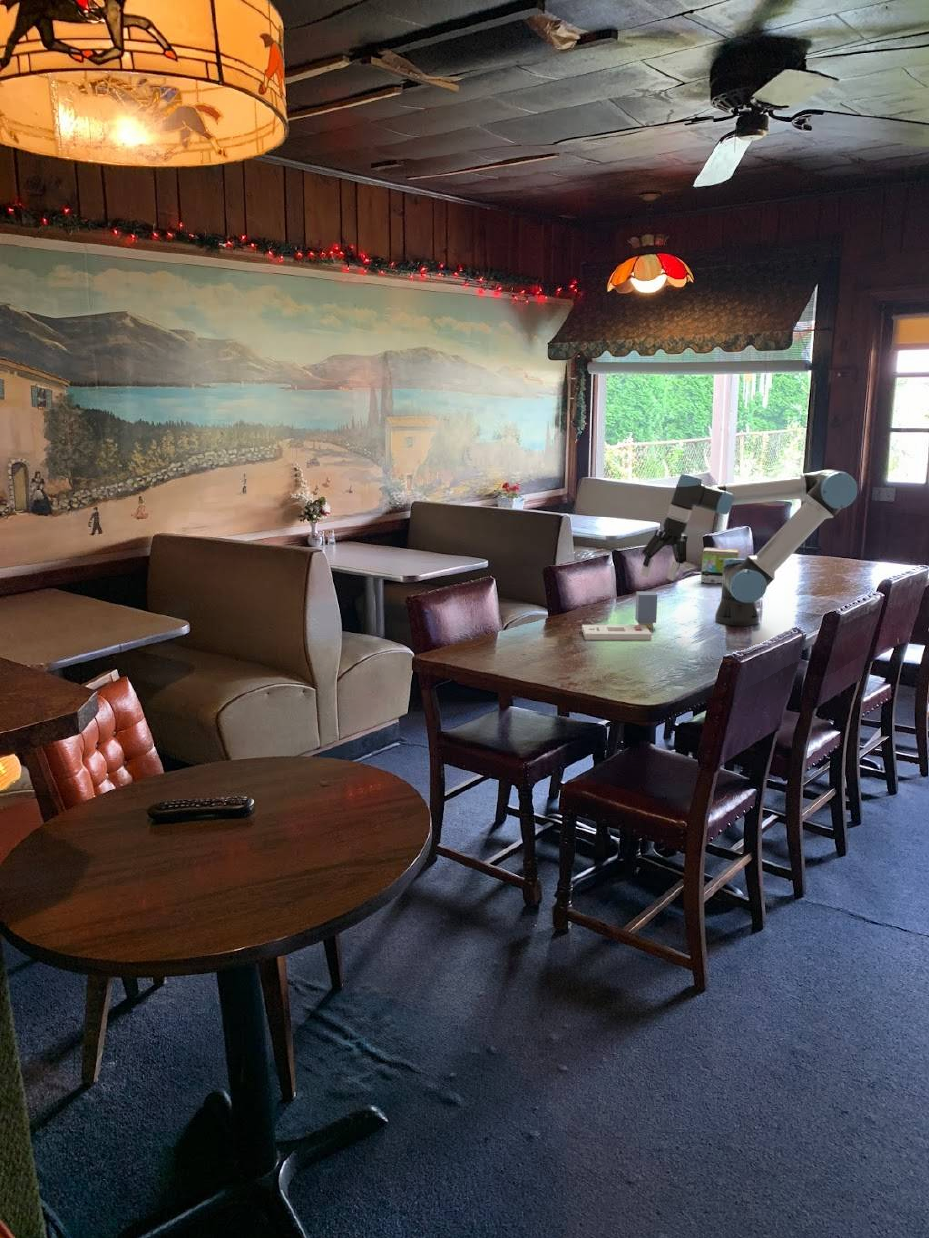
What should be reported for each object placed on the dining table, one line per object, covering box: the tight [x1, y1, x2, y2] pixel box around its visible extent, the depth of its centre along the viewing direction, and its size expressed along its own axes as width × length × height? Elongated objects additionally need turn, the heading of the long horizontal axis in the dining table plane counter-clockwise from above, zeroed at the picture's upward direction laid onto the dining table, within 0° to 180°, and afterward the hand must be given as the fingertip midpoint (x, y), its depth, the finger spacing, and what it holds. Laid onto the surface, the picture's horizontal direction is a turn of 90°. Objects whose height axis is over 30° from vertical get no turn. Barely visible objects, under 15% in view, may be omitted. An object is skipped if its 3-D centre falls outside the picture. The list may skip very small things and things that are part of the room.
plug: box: [635, 591, 658, 629], centre depth 330 cm, size 6×6×12 cm
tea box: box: [700, 547, 740, 584], centre depth 411 cm, size 15×10×15 cm, turn 72°
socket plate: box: [581, 624, 652, 641], centre depth 319 cm, size 22×13×3 cm, turn 88°
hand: (657, 577), depth 324 cm, fingers open, 13 cm apart
